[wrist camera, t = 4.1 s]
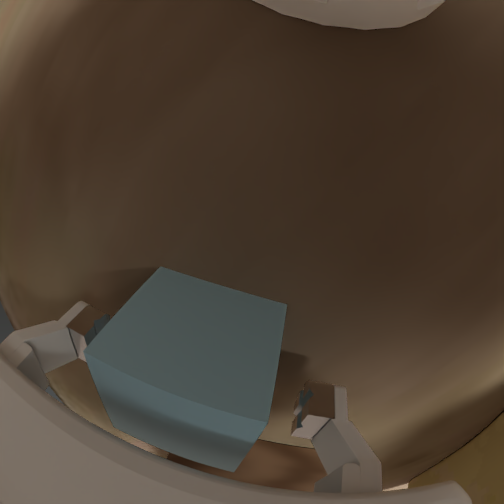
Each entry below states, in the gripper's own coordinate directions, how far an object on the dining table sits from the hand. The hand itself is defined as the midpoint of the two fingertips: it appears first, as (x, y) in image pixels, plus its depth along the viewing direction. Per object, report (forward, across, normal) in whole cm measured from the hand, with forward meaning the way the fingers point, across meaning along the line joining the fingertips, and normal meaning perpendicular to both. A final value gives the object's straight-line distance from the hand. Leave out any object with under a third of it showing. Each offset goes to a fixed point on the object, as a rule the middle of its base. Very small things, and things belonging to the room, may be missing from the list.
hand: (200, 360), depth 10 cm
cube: (+2, 0, 0) cm, 2 cm away
